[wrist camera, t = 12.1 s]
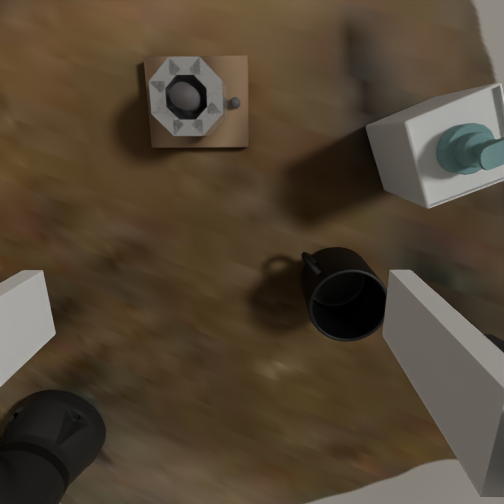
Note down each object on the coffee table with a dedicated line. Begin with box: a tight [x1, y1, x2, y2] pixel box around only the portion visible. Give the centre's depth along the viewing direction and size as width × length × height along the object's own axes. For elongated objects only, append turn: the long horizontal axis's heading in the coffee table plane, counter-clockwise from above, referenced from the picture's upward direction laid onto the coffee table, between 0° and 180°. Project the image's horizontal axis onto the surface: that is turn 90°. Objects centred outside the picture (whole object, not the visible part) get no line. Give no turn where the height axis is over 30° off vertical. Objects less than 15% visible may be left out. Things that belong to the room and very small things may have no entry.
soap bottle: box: [366, 83, 504, 209], centre depth 35 cm, size 9×9×19 cm
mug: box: [301, 247, 387, 341], centre depth 46 cm, size 9×12×9 cm
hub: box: [149, 56, 228, 136], centre depth 38 cm, size 7×7×5 cm
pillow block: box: [143, 56, 249, 148], centre depth 39 cm, size 12×10×10 cm
